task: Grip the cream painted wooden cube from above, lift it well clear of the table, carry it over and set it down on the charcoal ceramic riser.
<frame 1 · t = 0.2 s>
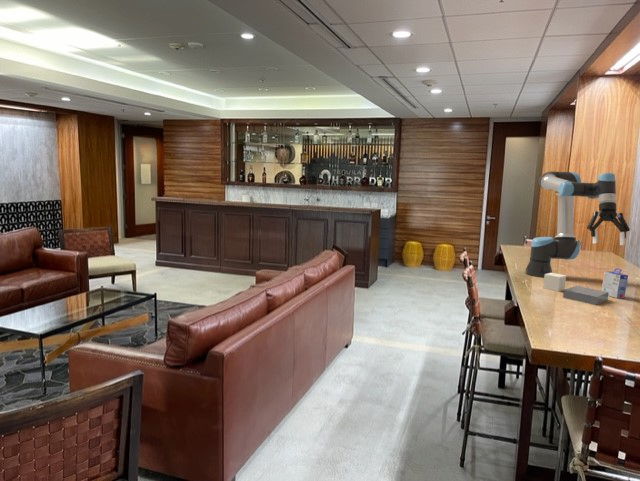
hand: (608, 244, 229), 28 cm above the table, tool tilted 20°, fingers open, 13 cm apart
cream cube: (553, 289, 246), on the table
charcoal riser: (585, 298, 229), on the table
ink cartridge box: (612, 296, 237), on the table
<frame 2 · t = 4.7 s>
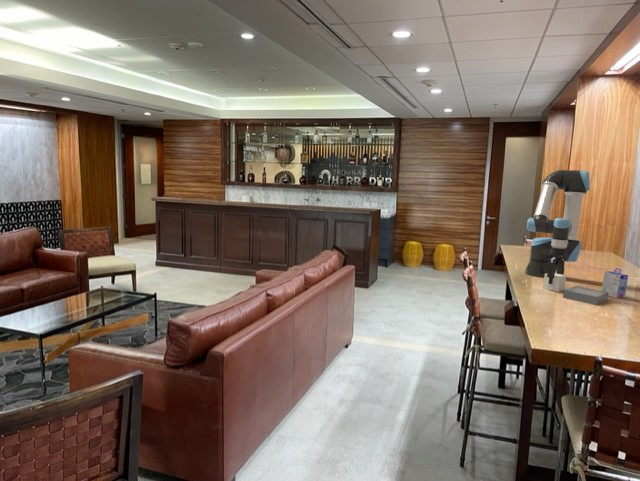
hand: (553, 288, 246), 0 cm above the table, tool pointing down, fingers closed on cream cube, 8 cm apart
cream cube: (553, 289, 246), on the table, touching gripper
everything else where it was.
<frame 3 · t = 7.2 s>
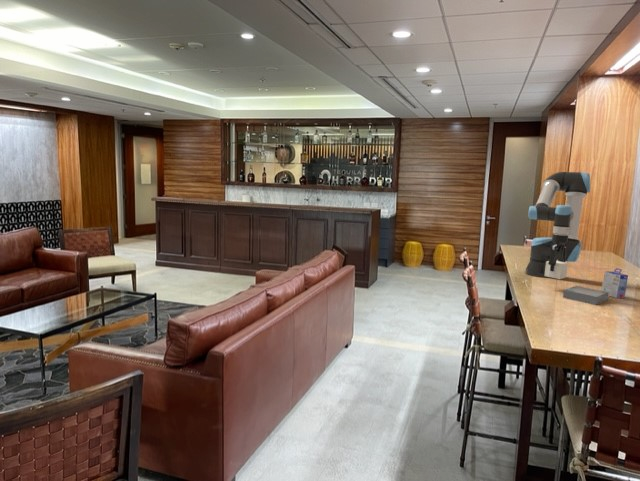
hand: (555, 276, 245), 7 cm above the table, tool pointing down, fingers closed on cream cube, 8 cm apart
cream cube: (555, 276, 245), point 7 cm above the table, touching gripper
everything else where it was.
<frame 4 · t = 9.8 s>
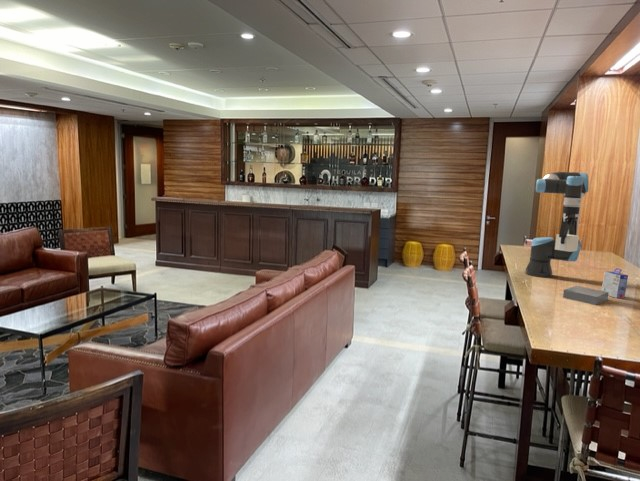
hand: (566, 249, 238), 23 cm above the table, tool pointing down, fingers closed on cream cube, 8 cm apart
cream cube: (565, 250, 238), point 22 cm above the table, touching gripper
everything else where it was.
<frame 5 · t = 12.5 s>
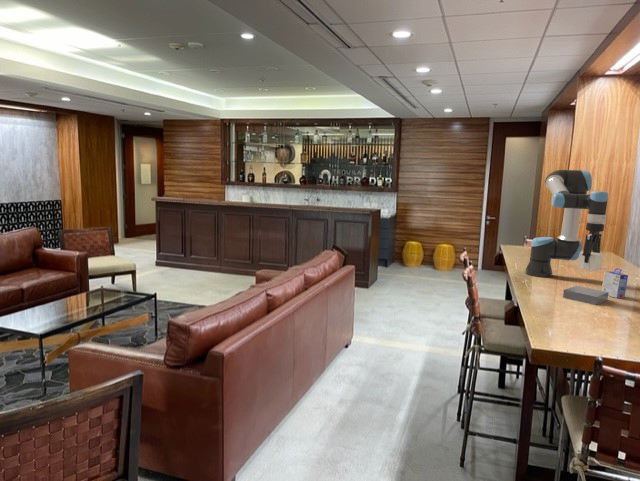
hand: (589, 268, 226), 16 cm above the table, tool pointing down, fingers closed on cream cube, 8 cm apart
cream cube: (589, 268, 226), point 15 cm above the table, touching gripper
everything else where it was.
when the fingers open (6 cm above the table, at t = 15.1 s): cream cube drops 1 cm, resting on charcoal riser.
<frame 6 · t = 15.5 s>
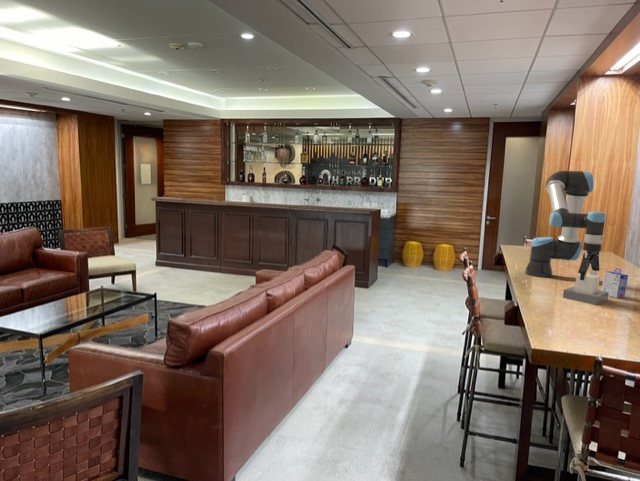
hand: (587, 284, 228), 7 cm above the table, tool pointing down, fingers open, 13 cm apart
cream cube: (586, 290, 228), point 4 cm above the table, touching charcoal riser
everything else where it was.
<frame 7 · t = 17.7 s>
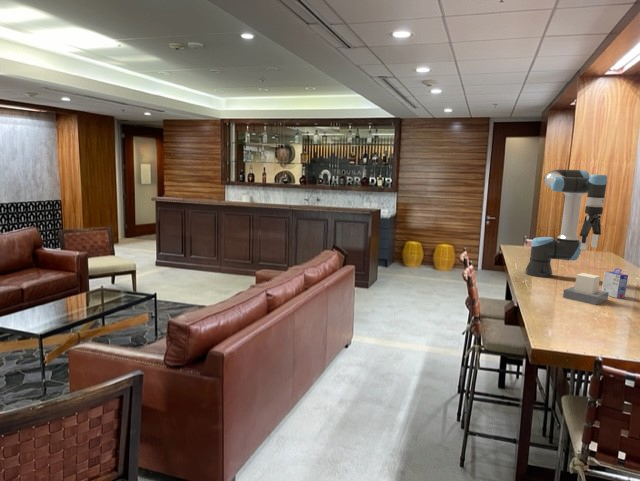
hand: (588, 248, 228), 25 cm above the table, tool pointing down, fingers open, 13 cm apart
nothing on the table moved.
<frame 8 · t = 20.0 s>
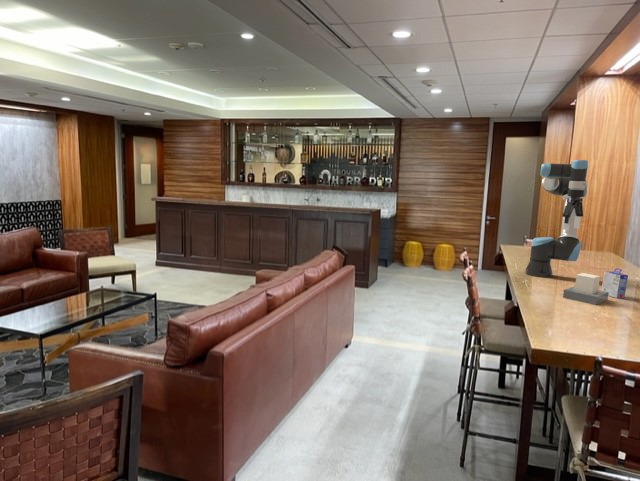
hand: (571, 228, 245), 33 cm above the table, tool pointing down, fingers open, 13 cm apart
nothing on the table moved.
at the end: cream cube inside the target area on the charcoal riser (0.0 cm from its centre), point 4.0 cm above the charcoal riser's base; cream cube tilted 0°; the gripper is holding nothing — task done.
